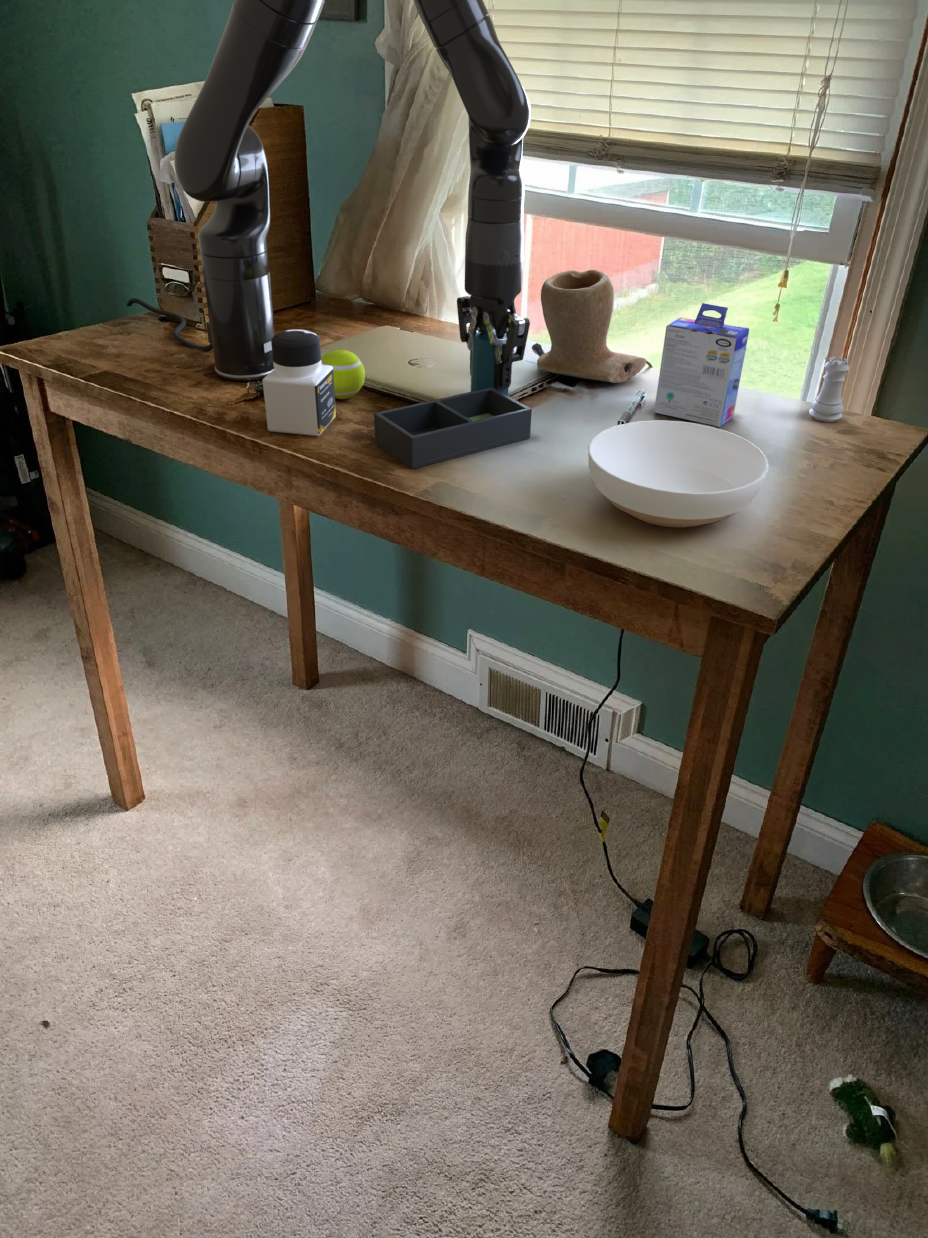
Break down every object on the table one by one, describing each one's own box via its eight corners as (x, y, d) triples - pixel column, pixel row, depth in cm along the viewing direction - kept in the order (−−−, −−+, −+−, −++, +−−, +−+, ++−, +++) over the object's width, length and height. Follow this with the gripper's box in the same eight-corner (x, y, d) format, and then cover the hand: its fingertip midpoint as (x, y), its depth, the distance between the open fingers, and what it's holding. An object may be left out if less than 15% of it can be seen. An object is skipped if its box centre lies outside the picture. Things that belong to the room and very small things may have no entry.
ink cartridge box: (735, 416, 129) (755, 309, 121) (722, 429, 125) (741, 319, 117) (667, 401, 134) (682, 297, 126) (652, 413, 130) (666, 306, 122)
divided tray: (374, 443, 120) (373, 413, 118) (489, 415, 128) (490, 386, 126) (412, 469, 114) (411, 438, 111) (530, 438, 122) (532, 408, 120)
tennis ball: (362, 406, 130) (360, 359, 126) (314, 405, 130) (310, 357, 127) (369, 389, 136) (367, 343, 132) (322, 388, 136) (319, 342, 132)
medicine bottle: (319, 437, 121) (312, 344, 114) (267, 432, 122) (257, 339, 116) (336, 416, 127) (331, 327, 120) (286, 412, 128) (278, 323, 121)
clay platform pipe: (520, 377, 141) (525, 273, 132) (556, 356, 149) (563, 257, 141) (613, 398, 134) (625, 290, 126) (646, 374, 143) (659, 272, 134)
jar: (463, 396, 133) (464, 332, 128) (493, 389, 136) (495, 327, 131) (484, 408, 130) (486, 343, 125) (515, 401, 132) (518, 337, 127)
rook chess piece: (802, 416, 130) (815, 359, 125) (816, 408, 132) (830, 351, 128) (833, 425, 127) (847, 367, 123) (847, 416, 130) (861, 359, 125)
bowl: (630, 454, 118) (636, 407, 115) (782, 496, 109) (794, 446, 106) (551, 512, 105) (555, 461, 101) (718, 565, 96) (728, 511, 92)
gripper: (551, 263, 119) (542, 393, 128) (486, 240, 128) (482, 363, 138) (503, 271, 115) (497, 403, 125) (439, 247, 125) (439, 372, 134)
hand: (489, 381), depth 131 cm, fingers closed on jar, 5 cm apart
